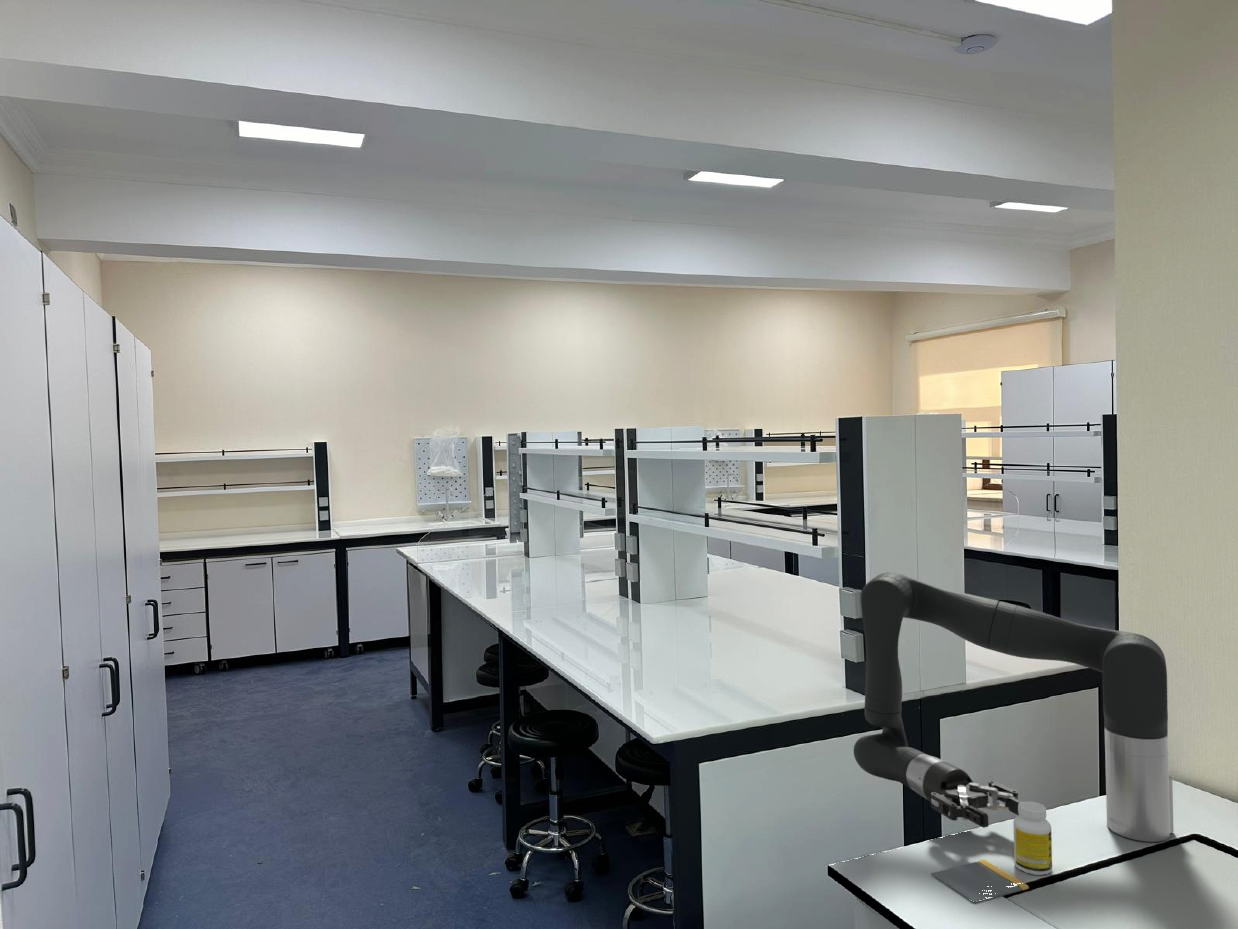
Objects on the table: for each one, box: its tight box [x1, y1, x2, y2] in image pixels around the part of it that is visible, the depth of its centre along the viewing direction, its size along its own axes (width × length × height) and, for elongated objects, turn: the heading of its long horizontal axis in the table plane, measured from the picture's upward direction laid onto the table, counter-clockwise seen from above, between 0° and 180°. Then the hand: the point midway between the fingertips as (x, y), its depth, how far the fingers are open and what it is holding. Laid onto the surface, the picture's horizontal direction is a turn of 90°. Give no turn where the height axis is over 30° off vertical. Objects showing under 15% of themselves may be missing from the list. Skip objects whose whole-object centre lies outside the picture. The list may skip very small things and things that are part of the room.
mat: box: [930, 859, 1030, 902], centre depth 128 cm, size 10×9×1 cm
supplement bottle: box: [1013, 800, 1053, 876], centre depth 132 cm, size 5×5×10 cm
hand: (1007, 817), depth 137 cm, fingers open, 8 cm apart
